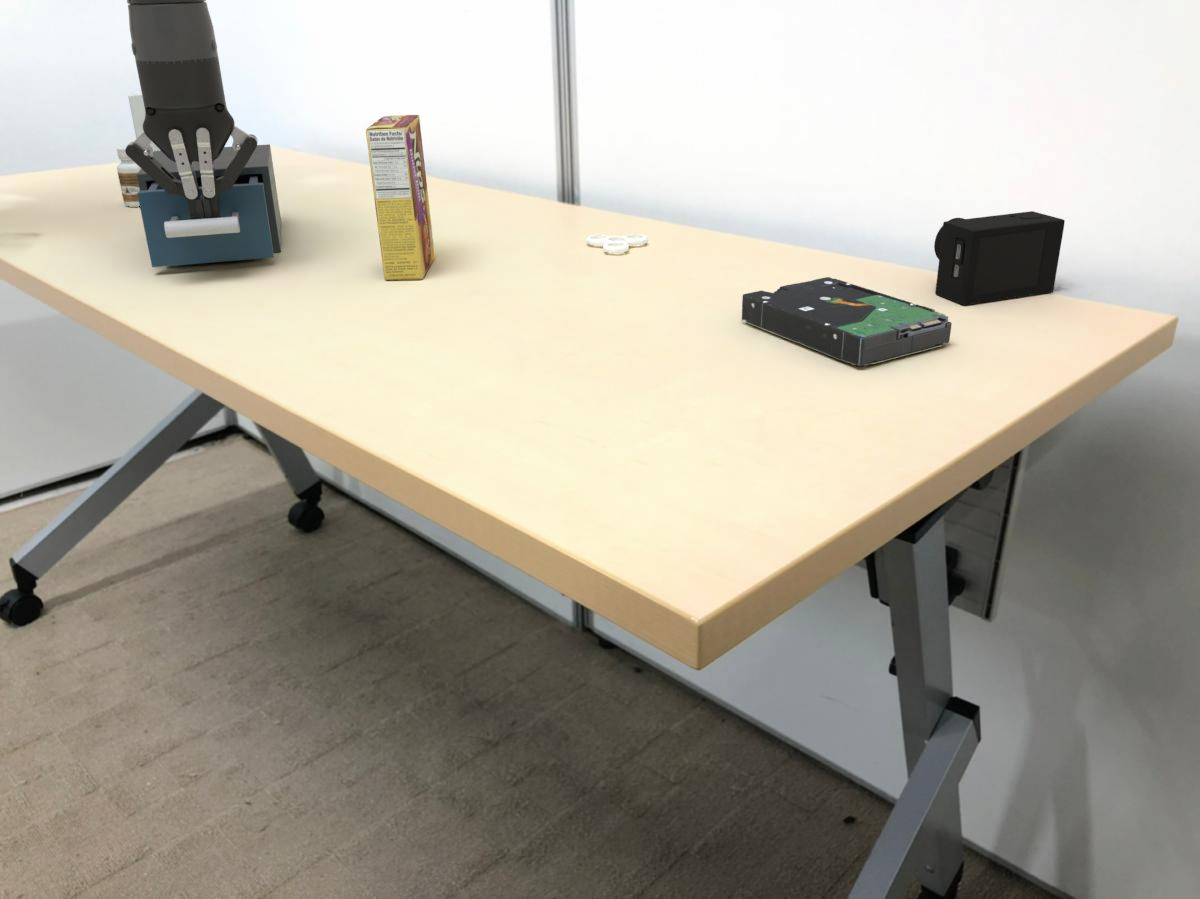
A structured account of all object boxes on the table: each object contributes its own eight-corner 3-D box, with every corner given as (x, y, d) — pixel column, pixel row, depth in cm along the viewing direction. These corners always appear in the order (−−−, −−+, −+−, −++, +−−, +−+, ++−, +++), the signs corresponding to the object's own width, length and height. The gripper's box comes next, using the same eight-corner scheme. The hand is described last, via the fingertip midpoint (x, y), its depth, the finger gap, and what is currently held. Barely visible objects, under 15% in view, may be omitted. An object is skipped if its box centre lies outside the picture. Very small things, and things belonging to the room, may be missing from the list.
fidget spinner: (581, 242, 121) (581, 235, 121) (631, 235, 124) (631, 228, 124) (610, 255, 116) (610, 248, 115) (661, 247, 118) (661, 240, 118)
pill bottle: (117, 207, 146) (105, 149, 143) (137, 200, 150) (126, 144, 147) (145, 208, 145) (134, 149, 142) (164, 201, 149) (154, 144, 146)
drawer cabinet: (280, 252, 121) (268, 165, 117) (153, 262, 117) (136, 174, 113) (281, 221, 135) (269, 144, 131) (168, 230, 132) (153, 151, 128)
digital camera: (1014, 278, 105) (1024, 207, 102) (1054, 292, 100) (1066, 218, 97) (926, 291, 101) (934, 218, 98) (963, 306, 97) (973, 229, 94)
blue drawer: (273, 270, 110) (261, 194, 106) (145, 281, 107) (129, 203, 103) (274, 227, 128) (265, 161, 125) (166, 235, 125) (153, 168, 122)
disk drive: (738, 325, 93) (860, 370, 82) (739, 294, 92) (863, 336, 81) (825, 304, 98) (952, 345, 87) (827, 275, 97) (956, 312, 86)
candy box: (396, 259, 117) (382, 114, 110) (435, 258, 116) (423, 113, 110) (380, 281, 108) (364, 126, 102) (422, 280, 108) (408, 125, 102)
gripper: (249, 48, 107) (275, 220, 114) (108, 54, 104) (144, 231, 111) (247, 53, 100) (275, 236, 107) (96, 60, 97) (135, 247, 104)
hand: (208, 233), depth 109 cm, fingers closed
